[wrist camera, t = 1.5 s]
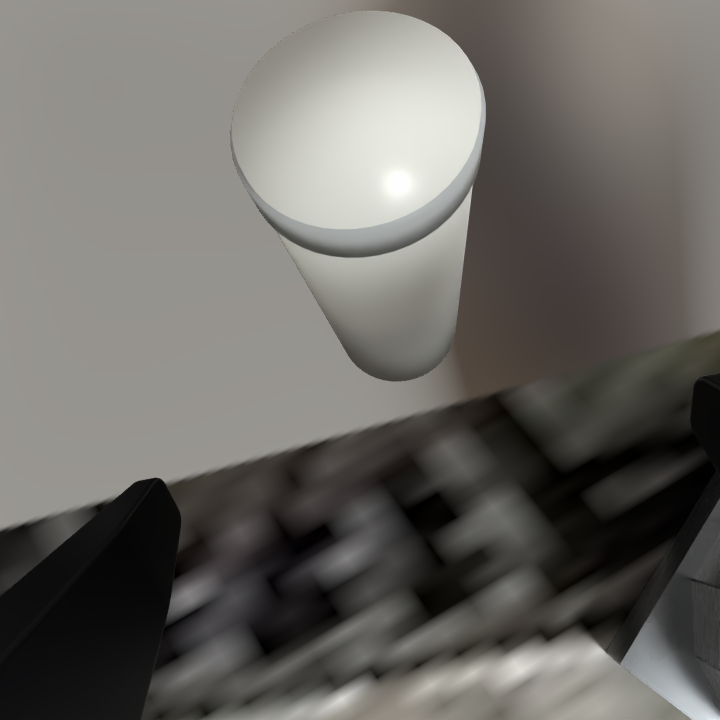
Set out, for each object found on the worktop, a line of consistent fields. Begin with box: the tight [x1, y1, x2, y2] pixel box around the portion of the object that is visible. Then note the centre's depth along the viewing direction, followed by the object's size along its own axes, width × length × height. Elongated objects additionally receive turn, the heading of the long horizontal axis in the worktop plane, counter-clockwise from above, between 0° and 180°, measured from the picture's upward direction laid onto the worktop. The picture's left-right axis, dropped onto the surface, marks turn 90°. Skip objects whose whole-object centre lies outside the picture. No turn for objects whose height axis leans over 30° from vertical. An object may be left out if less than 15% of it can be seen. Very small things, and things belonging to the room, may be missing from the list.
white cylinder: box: [231, 11, 486, 381], centre depth 17 cm, size 5×5×13 cm
